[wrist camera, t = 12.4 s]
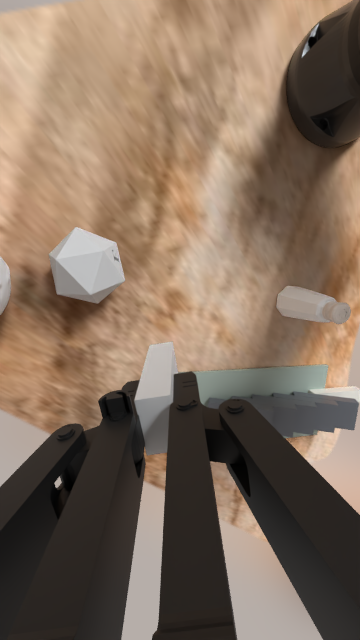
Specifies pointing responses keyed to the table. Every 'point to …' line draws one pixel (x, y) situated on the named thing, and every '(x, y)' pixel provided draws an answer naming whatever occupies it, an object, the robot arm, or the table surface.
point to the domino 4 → (319, 411)
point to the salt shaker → (311, 306)
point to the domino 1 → (263, 409)
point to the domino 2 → (278, 415)
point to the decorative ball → (4, 285)
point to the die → (86, 266)
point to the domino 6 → (339, 409)
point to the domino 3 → (298, 413)
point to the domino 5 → (339, 392)
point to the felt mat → (260, 382)
